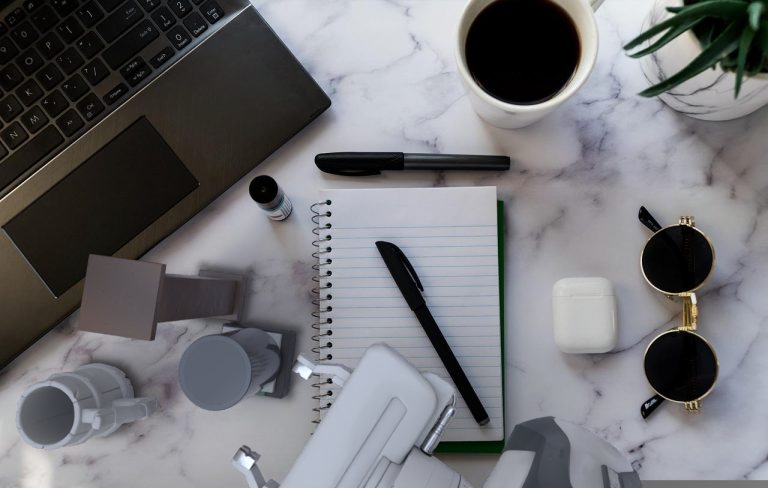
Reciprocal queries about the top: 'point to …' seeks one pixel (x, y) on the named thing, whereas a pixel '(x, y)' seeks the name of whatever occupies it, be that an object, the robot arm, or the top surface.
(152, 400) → the mug
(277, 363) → the grey cylinder
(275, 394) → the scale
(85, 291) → the stand
